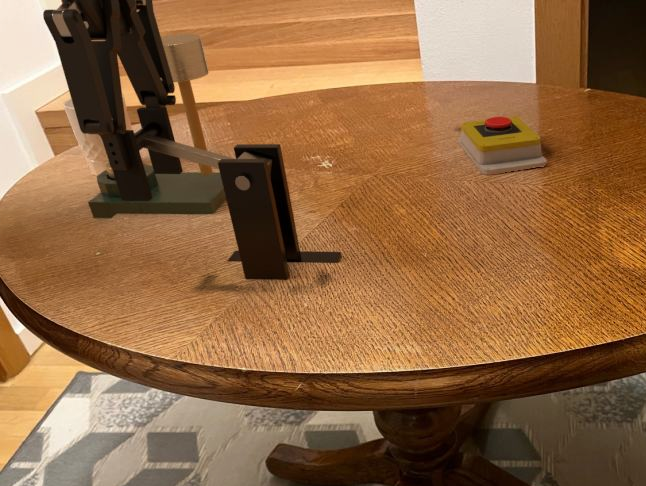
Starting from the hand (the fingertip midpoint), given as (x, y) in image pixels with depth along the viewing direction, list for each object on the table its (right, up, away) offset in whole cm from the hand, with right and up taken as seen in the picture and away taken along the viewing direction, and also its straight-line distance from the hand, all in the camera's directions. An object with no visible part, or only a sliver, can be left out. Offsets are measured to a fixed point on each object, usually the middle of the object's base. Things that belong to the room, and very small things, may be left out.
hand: (153, 185), depth 72 cm
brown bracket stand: (+11, -9, +5) cm, 15 cm away
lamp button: (-13, +6, +22) cm, 26 cm away
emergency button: (+36, +12, +33) cm, 51 cm away
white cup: (-20, +10, +35) cm, 42 cm away
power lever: (+5, +1, -2) cm, 6 cm away
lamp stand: (-2, +6, +21) cm, 22 cm away
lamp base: (-8, +3, +24) cm, 25 cm away
